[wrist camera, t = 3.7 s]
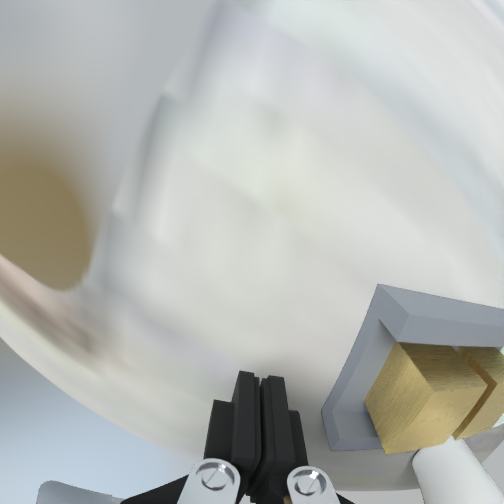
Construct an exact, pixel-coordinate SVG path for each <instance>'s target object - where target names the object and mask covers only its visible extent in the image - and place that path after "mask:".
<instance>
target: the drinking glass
mask: <svg viewBox="0 0 504 504" xmlns="http://www.w3.org/2000/svg"><path fill="white" fill-rule="evenodd" d="M412 466H413V469H414V471H415V474H416V476H417V479H418V482H419V485H420V489H421V492H422V496H423V500H424V504H504V494H503V493H502V492H501V490H500V489H499V487H498V486H497V485H496V483H495V482H494V480H493V479H492V478H491V476H490V475H489V474H488V472H487V471H486V470H485V469H484V467H483V466H482V464H481V463H480V462H479V460H478V459H477V458H476V456H475V455H474V454H473V452H472V451H471V450H470V448H469V447H468V446H467V444H466V442H465V441H464V439H459V440H456V441H455V439H454V438H453V436H450V437H449V438H448V440H447V441H446V442H445V443H444V444H441V445H437V446H433V447H428V448H423V449H420V450H419V451H418V453H417V454H416V455H415V456H414V458H413V461H412Z"/></svg>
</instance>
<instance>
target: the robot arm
mask: <svg viewBox="0 0 504 504" xmlns="http://www.w3.org/2000/svg"><path fill="white" fill-rule="evenodd" d="M244 494H246V496H250V502H251V503H256V504H354V503H353V502H351V501H349V500H347V499H346V498H344V497H342V496H341V495H339V494H337V493H336V492H335V490H334V487H333V485H332V483H331V480H330V478H329V477H328V475H327V474H326V473H325V472H324V471H322V470H320V469H318V468H316V467H312V466H308V460H307V454H306V448H305V443H304V437H303V431H302V426H301V420H300V415H299V412H298V411H293V410H288V403H287V396H286V389H285V383H284V378H283V377H278V376H271V375H269V376H268V378H267V379H266V378H263V379H262V381H261V384H260V387H259V377H254V373H251V372H245V371H239V374H238V378H237V382H236V386H235V389H234V393H233V397H232V401H231V402H225V401H220V400H214V402H213V407H212V412H211V417H210V422H209V428H208V434H207V440H206V446H205V452H204V458H203V460H201V461H199V462H197V463H196V464H195V465H194V466H193V468H192V469H191V471H190V474H189V475H186V476H184V477H182V478H180V479H177V480H175V481H173V482H171V483H168V484H165V485H163V486H160V487H158V488H155V489H153V490H150V491H148V492H145V493H142V494H139V495H136V496H133V497H130V498H128V499H122V498H116V497H112V495H109V494H103V493H98V492H94V491H90V490H86V489H82V488H78V487H75V486H71V485H68V484H64V483H61V482H58V481H46V482H44V483H43V484H42V485H41V486H40V488H39V491H38V496H37V502H36V504H239V502H240V501H241V499H242V497H243V496H244Z"/></svg>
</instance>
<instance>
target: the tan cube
mask: <svg viewBox="0 0 504 504" xmlns="http://www.w3.org/2000/svg"><path fill="white" fill-rule="evenodd" d="M457 352H458V354H459V355H460V356H461V357H462V358H463V359H464V360H465V361H466V362H467V363H468V364H469V365H470V366H471V367H472V368H473V370H474V371H475V372H476V373H477V374H478V375H479V376H480V377H481V378H482V379H483V381H484V382H485V383H486V384H487V385H488V386H487V388H486V389H485V391H484V392H483V394H482V395H481V397H480V398H479V400H478V401H477V403H476V404H475V405H474V407H473V408H472V410H471V411H470V412H469V414H468V415H467V416H466V418H465V419H464V420H463V421H462V423H461V424H460V425H459V427H458V428H457V429H456V430H455V431H454V433H453V434H452V436H453V438H454V439H455V441H456V440H459V439H463V438H466V437H469V436H472V435H475V434H478V433H481V432H484V431H487V430H489V429H491V428H492V427H493V426H494V425H495V423H496V422H497V421H498V420H499V418H500V417H501V416H502V414H503V413H504V355H503V354H502V353H501V352H500V351H499V350H498V349H497V348H495V347H477V346H459V347H458V349H457Z"/></svg>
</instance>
